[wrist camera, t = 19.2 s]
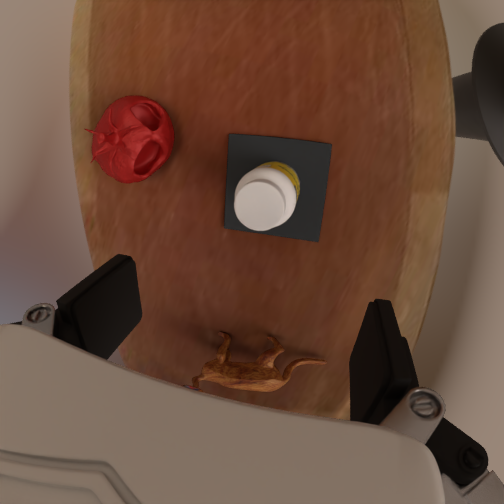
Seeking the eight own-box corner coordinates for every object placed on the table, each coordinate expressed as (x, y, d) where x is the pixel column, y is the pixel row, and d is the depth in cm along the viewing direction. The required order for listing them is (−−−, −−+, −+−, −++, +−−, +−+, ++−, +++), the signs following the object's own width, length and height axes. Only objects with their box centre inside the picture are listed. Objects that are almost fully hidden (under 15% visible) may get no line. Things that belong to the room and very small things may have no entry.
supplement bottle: (308, 200, 31) (303, 229, 23) (262, 215, 33) (240, 248, 24) (290, 153, 30) (277, 162, 21) (243, 170, 32) (213, 187, 23)
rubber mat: (331, 144, 29) (331, 144, 28) (318, 240, 33) (318, 242, 33) (229, 133, 31) (228, 133, 30) (225, 227, 35) (224, 228, 35)
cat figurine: (331, 339, 38) (328, 420, 26) (323, 371, 41) (317, 448, 29) (204, 321, 42) (164, 390, 29) (207, 354, 44) (173, 421, 32)
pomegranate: (117, 174, 36) (69, 191, 27) (117, 100, 31) (66, 100, 23) (182, 177, 34) (140, 195, 26) (185, 94, 30) (141, 87, 21)
